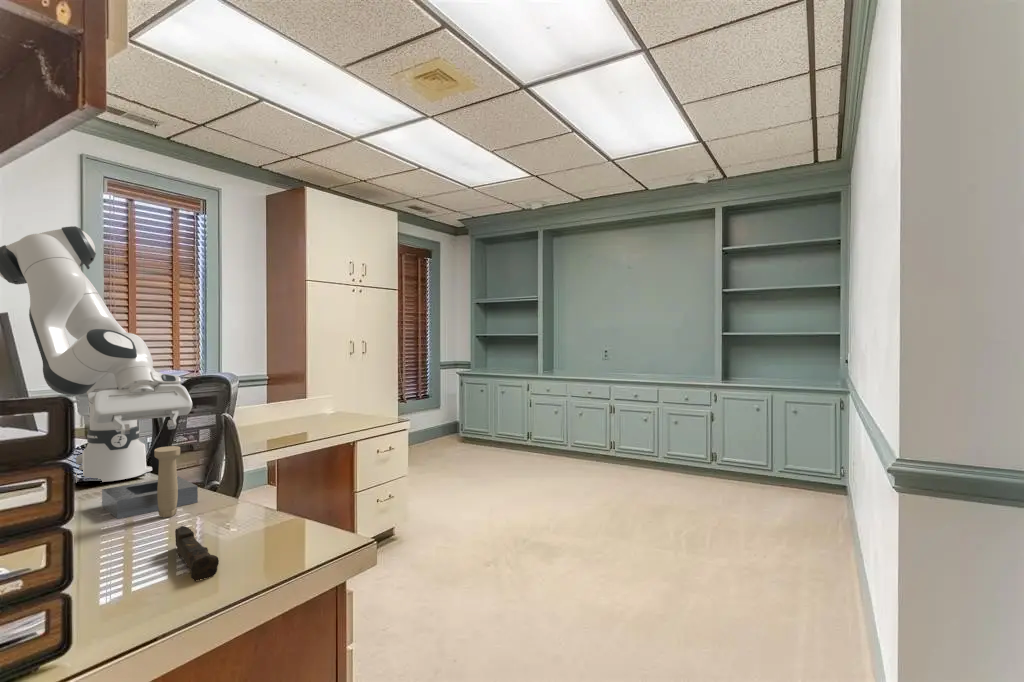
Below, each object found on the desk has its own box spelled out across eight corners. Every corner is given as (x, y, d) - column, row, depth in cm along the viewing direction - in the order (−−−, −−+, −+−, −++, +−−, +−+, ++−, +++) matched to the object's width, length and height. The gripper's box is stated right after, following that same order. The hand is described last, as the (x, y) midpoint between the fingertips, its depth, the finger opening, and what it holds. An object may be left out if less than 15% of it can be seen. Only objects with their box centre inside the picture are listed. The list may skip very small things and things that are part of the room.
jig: (102, 506, 126) (102, 489, 126) (178, 491, 138) (178, 476, 138) (117, 519, 117) (117, 500, 117) (197, 502, 129) (197, 485, 129)
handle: (154, 521, 115) (154, 452, 115) (155, 513, 120) (154, 447, 120) (180, 517, 118) (180, 450, 118) (180, 510, 123) (180, 445, 123)
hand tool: (219, 577, 88) (219, 549, 88) (191, 584, 86) (191, 555, 86) (196, 544, 103) (196, 520, 103) (171, 550, 100) (171, 525, 100)
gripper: (87, 380, 124) (97, 427, 117) (186, 376, 139) (199, 416, 133) (84, 398, 127) (93, 444, 120) (181, 392, 142) (194, 432, 136)
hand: (150, 430), depth 127 cm, fingers open, 8 cm apart
